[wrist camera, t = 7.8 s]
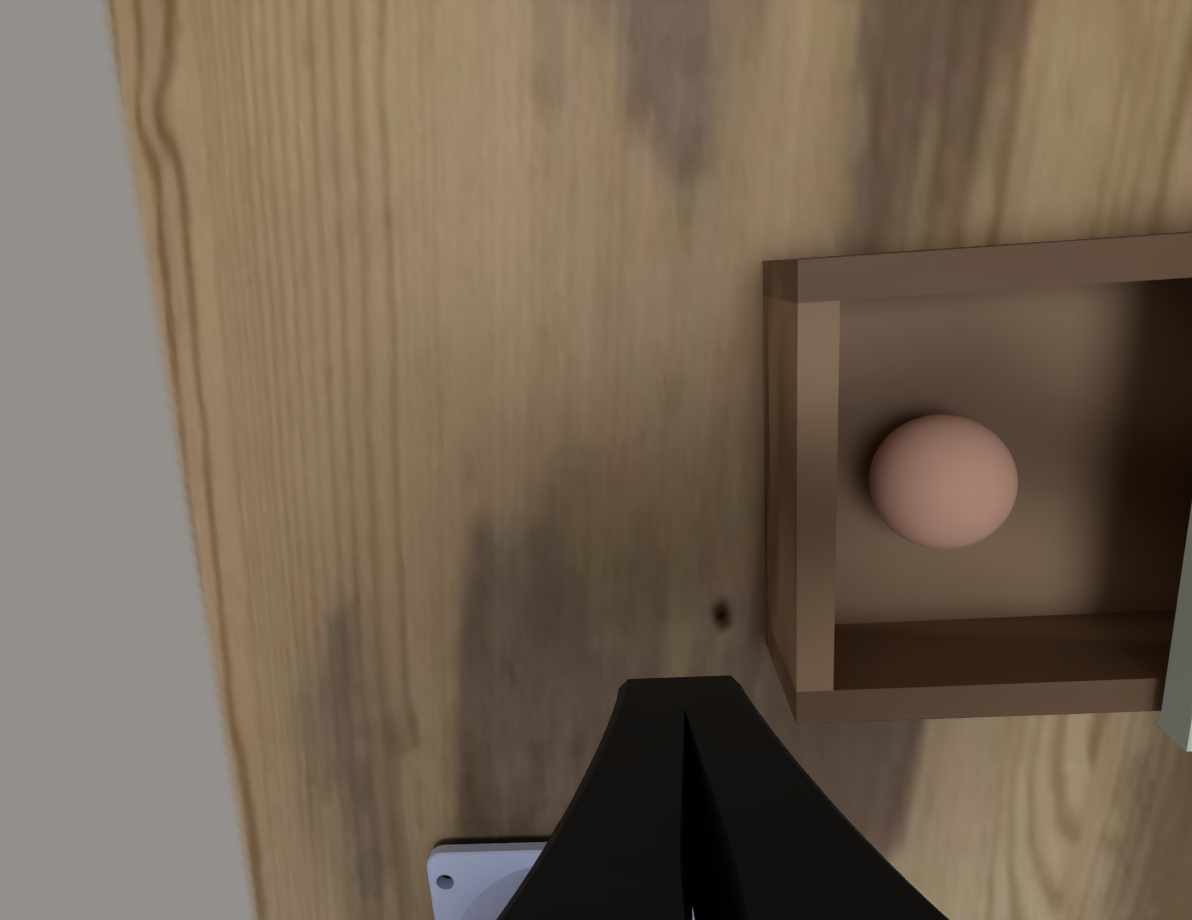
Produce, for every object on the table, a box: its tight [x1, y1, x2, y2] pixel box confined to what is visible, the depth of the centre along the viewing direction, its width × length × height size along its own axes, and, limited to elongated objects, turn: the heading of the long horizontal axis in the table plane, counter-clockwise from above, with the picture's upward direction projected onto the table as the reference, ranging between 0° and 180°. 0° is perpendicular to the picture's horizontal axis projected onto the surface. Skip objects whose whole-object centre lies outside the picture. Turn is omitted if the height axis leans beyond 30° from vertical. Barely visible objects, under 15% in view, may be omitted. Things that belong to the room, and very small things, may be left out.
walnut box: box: [763, 232, 1192, 724], centre depth 17 cm, size 10×12×4 cm
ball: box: [869, 414, 1018, 549], centre depth 16 cm, size 3×3×3 cm
